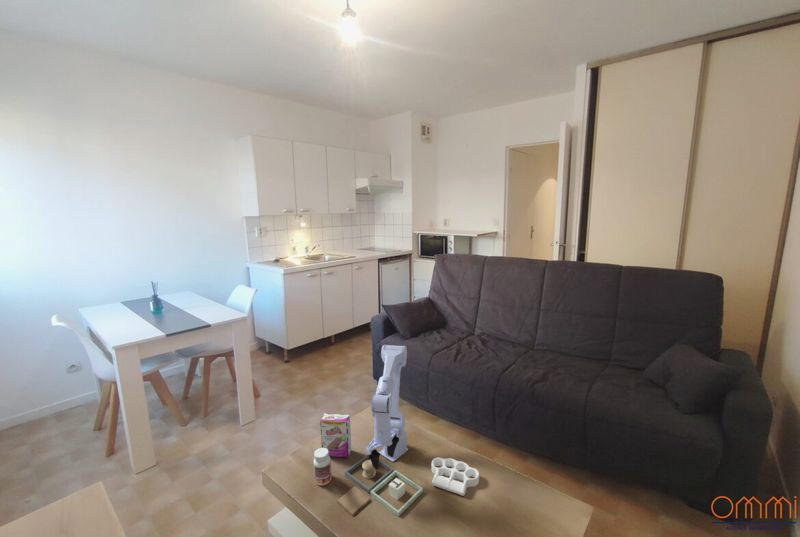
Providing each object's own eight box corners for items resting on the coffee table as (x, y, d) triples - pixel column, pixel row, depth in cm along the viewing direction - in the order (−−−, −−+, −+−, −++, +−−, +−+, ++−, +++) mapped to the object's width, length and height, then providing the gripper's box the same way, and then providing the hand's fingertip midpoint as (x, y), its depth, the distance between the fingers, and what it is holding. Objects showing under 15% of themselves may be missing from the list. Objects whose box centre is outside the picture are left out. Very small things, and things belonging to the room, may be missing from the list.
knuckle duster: (423, 484, 126) (436, 458, 139) (472, 502, 119) (482, 472, 132) (423, 476, 126) (436, 451, 139) (473, 493, 118) (482, 464, 131)
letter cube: (396, 487, 125) (396, 477, 124) (404, 493, 122) (404, 483, 122) (388, 494, 122) (388, 484, 121) (397, 500, 119) (397, 490, 119)
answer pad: (354, 488, 125) (354, 486, 125) (370, 500, 120) (370, 498, 119) (337, 502, 119) (337, 500, 119) (352, 515, 114) (352, 513, 114)
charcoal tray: (369, 456, 140) (369, 453, 140) (393, 472, 132) (393, 468, 132) (344, 475, 131) (344, 471, 131) (368, 493, 122) (368, 489, 122)
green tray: (395, 473, 131) (395, 470, 131) (422, 491, 123) (422, 488, 122) (370, 495, 122) (370, 491, 121) (398, 516, 113) (398, 512, 113)
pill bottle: (334, 481, 128) (332, 453, 126) (318, 488, 125) (316, 460, 123) (327, 470, 133) (326, 444, 131) (312, 477, 130) (310, 450, 128)
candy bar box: (321, 457, 140) (319, 420, 137) (325, 448, 145) (323, 412, 142) (349, 458, 139) (347, 421, 136) (351, 449, 144) (350, 413, 141)
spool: (369, 467, 135) (369, 457, 134) (378, 473, 132) (378, 464, 131) (359, 474, 131) (359, 465, 130) (369, 481, 128) (368, 471, 127)
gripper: (375, 442, 114) (376, 478, 117) (404, 422, 125) (405, 455, 127) (360, 433, 119) (362, 468, 121) (390, 414, 129) (391, 447, 132)
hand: (383, 461), depth 124 cm, fingers open, 7 cm apart
